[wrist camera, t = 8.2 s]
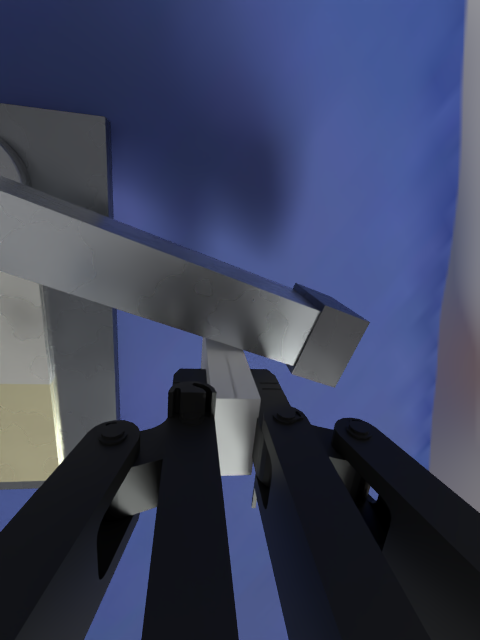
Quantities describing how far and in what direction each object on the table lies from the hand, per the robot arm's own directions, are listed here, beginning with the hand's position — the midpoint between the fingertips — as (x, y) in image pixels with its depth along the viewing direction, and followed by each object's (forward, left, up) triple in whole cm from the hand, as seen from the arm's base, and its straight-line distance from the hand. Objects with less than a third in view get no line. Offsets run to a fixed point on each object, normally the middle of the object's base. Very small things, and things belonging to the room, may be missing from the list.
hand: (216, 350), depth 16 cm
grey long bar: (-4, +4, -2) cm, 6 cm away
